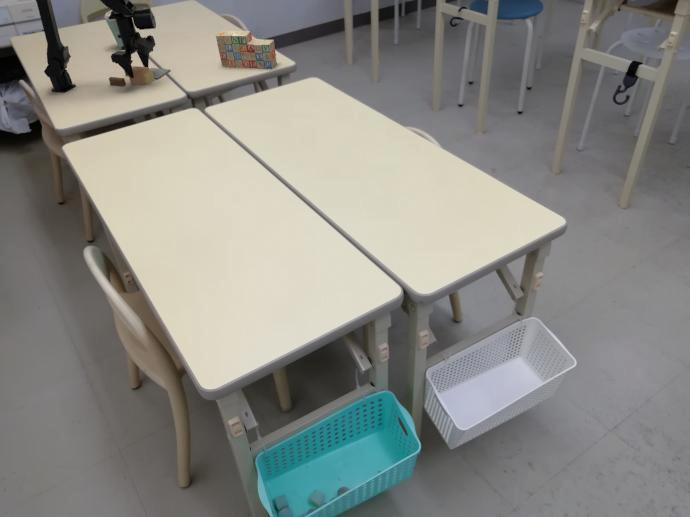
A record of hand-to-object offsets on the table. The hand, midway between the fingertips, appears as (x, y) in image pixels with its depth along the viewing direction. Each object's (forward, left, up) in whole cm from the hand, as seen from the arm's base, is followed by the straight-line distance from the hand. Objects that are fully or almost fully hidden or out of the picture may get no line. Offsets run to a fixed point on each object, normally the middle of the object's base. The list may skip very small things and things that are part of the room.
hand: (139, 73), depth 202 cm
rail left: (-5, +7, -3) cm, 9 cm away
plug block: (0, 0, -3) cm, 3 cm away
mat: (+7, -1, -3) cm, 8 cm away
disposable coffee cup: (+33, +31, -3) cm, 46 cm away
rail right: (+5, +7, -3) cm, 9 cm away
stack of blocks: (+24, -34, -4) cm, 42 cm away
